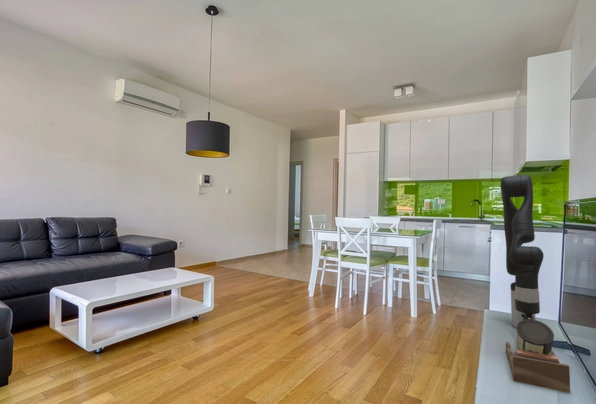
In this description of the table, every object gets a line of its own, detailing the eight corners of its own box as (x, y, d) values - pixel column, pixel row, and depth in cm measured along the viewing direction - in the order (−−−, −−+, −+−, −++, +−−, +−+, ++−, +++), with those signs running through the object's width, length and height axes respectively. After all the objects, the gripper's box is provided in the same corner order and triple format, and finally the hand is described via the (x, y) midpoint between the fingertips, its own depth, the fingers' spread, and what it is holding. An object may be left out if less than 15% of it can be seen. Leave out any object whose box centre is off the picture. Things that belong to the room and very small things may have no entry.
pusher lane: (505, 352, 122) (505, 331, 122) (552, 359, 115) (551, 338, 115) (513, 381, 102) (513, 356, 102) (570, 392, 95) (569, 366, 95)
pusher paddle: (517, 372, 107) (516, 349, 107) (557, 379, 102) (556, 356, 102) (518, 375, 105) (517, 352, 105) (559, 383, 100) (558, 359, 100)
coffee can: (539, 344, 116) (543, 317, 110) (556, 370, 107) (561, 343, 101) (509, 345, 118) (510, 320, 112) (522, 371, 109) (525, 344, 103)
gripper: (512, 293, 125) (513, 336, 125) (517, 302, 113) (518, 349, 113) (535, 295, 121) (537, 339, 121) (543, 305, 110) (544, 354, 110)
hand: (528, 344), depth 117 cm, fingers closed
